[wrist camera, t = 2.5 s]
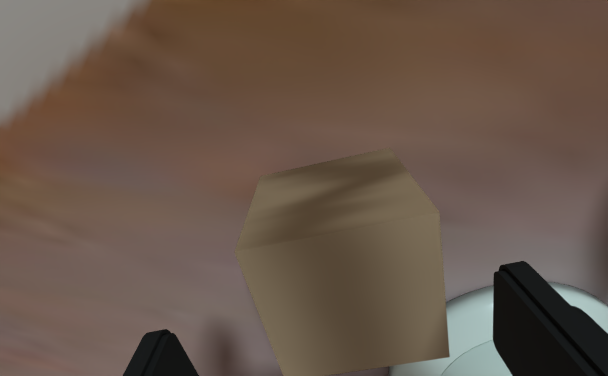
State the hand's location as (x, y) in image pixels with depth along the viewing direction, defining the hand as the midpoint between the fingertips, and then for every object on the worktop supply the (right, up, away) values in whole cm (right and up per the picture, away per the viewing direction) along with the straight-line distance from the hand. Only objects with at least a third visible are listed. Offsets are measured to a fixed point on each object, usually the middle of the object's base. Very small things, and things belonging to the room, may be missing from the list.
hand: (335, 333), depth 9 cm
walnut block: (+1, +3, +7) cm, 7 cm away
